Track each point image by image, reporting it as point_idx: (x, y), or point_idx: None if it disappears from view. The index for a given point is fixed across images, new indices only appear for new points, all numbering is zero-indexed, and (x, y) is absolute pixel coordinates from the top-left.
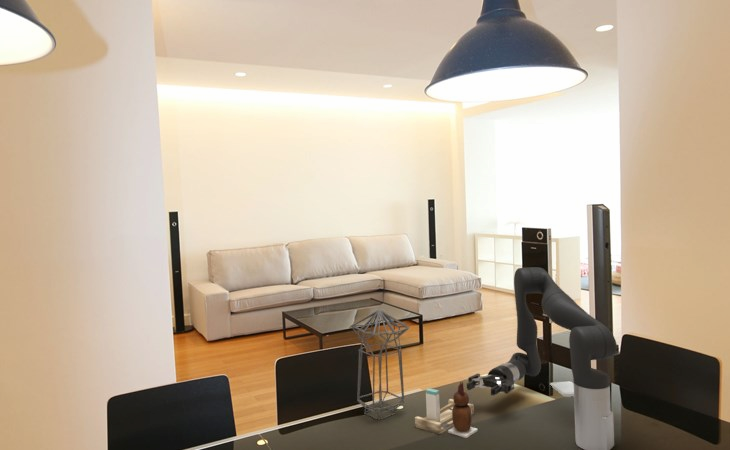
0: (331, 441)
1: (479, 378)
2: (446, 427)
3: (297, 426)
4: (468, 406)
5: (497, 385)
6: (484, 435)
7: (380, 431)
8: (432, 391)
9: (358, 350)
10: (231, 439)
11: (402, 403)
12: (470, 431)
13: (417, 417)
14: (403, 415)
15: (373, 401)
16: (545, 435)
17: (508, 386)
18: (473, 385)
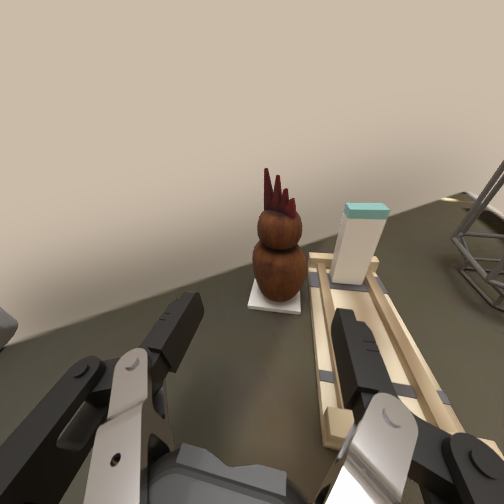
0: (401, 215)
1: (351, 453)
2: (309, 281)
3: (491, 219)
4: (260, 248)
5: (152, 414)
6: (227, 296)
7: (393, 244)
8: (356, 203)
9: None
10: (473, 194)
11: (482, 276)
12: (257, 289)
13: (372, 258)
14: (466, 307)
15: (471, 217)
16: (69, 357)
17: (63, 385)
18: (343, 374)
